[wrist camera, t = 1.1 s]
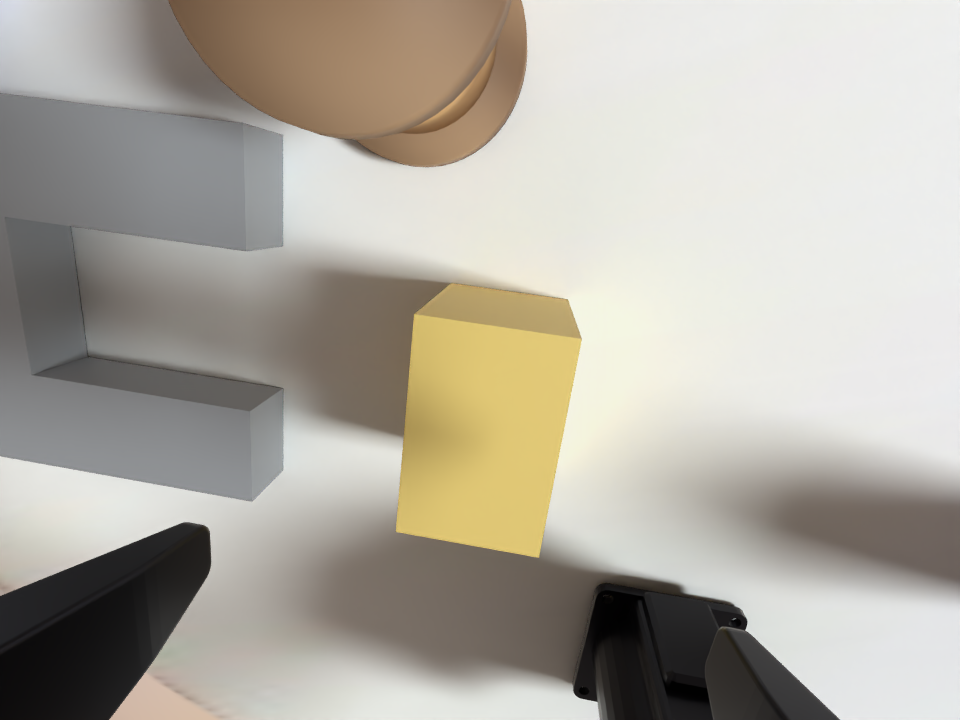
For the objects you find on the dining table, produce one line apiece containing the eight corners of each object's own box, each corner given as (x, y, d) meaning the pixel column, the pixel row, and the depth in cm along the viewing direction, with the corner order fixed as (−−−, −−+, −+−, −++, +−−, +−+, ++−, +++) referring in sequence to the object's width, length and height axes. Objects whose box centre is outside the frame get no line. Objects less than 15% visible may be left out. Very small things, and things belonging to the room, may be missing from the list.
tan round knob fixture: (511, 178, 17) (491, 152, 10) (321, 154, 18) (160, 112, 10) (543, -59, 15) (550, -334, 7) (327, -79, 16) (125, -357, 8)
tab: (538, 461, 20) (538, 557, 15) (434, 443, 21) (395, 531, 15) (567, 299, 18) (581, 339, 13) (451, 282, 19) (414, 314, 13)
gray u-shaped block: (282, 470, 22) (252, 501, 20) (39, 427, 23) (-19, 452, 20) (282, 135, 18) (243, 123, 15) (-18, 97, 18) (-100, 81, 16)
